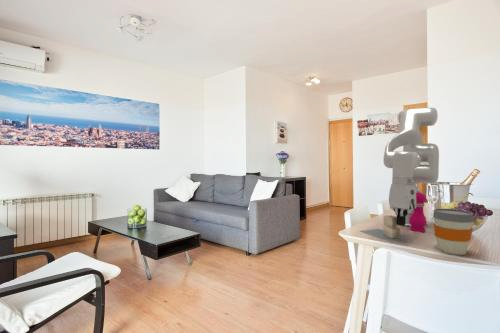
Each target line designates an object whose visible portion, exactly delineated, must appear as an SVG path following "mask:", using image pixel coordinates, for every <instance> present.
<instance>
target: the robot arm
mask: <svg viewBox="0 0 500 333" xmlns="http://www.w3.org/2000/svg"><path fill="white" fill-rule="evenodd" d="M438 115H439V114H438V111H437V109H436V107H421V108H419V107H418V108H409V109H404V110H401V111H399V112H398V114H397V120H398V121H397V122H398V124H399V125H398V126H399V127H398V133H396V134H395V135H394V136H393V137H392V138H391V139H389V141H388V142H387V143H386V146H385V149H384V152H383V153H384V154H383V165H384V166H385V168H387V169H392V174H391V175H392V178H391V180H392V181H391V184H390V188H389V193H388V194H389V195H388V205H389V209H390V210H393V212H394V214H395V216H396V217H397V225H400V227H402V226H403V227H409V228H410V226H411V224H410V223H409V219H410V216H411V215H412V213H414V209H416V193H417V190H418V189H419V190H421V189H420V187H419V186H418V185H417V184H436V183H437V181H438V179H439V169H440V166H439V164H440V150H439V147H438V145H437V144H435V143H432V142H431V143H423V134H422V132H421V130H420V127H432V126H434V125H435V124H436V123H437V121H438ZM401 147H402V151H401V150H400V151H396V150H397V149H398V148H401ZM421 163H427V164H421ZM420 193H422V191H421V192H420ZM425 218H426V219H427V217H426V216H425Z"/></svg>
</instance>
